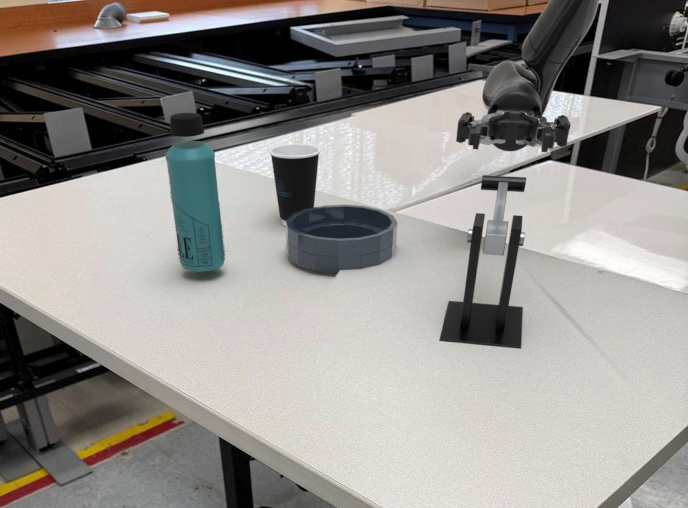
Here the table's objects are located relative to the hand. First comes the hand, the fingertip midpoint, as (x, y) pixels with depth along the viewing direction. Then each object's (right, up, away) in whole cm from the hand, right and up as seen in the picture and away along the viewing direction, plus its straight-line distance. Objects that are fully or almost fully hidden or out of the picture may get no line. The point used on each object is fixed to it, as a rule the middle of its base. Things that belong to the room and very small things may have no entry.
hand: (511, 142), depth 90 cm
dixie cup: (-27, 0, +27) cm, 38 cm away
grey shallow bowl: (-21, -9, +15) cm, 27 cm away
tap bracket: (-5, -25, -5) cm, 26 cm away
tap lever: (-4, -13, -8) cm, 16 cm away
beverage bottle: (-40, -13, +10) cm, 44 cm away
